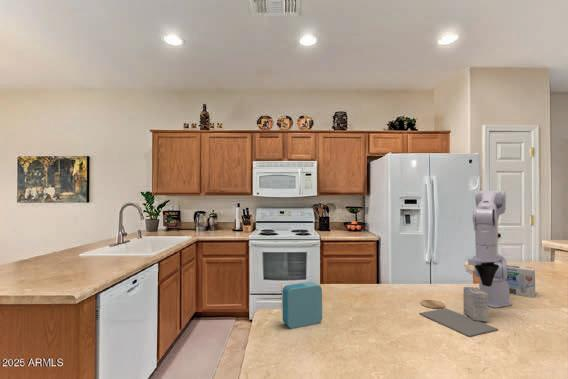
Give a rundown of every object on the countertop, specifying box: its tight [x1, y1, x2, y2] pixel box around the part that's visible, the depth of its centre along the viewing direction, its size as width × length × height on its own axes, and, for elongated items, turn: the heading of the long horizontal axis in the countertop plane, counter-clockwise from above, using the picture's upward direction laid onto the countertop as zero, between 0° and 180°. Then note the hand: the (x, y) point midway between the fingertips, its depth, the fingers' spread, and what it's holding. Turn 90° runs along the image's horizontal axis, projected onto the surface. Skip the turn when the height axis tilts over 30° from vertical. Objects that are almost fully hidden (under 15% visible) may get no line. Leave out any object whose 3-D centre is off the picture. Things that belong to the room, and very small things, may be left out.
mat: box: [418, 307, 499, 338], centre depth 93 cm, size 12×18×1 cm, turn 21°
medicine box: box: [462, 286, 489, 323], centre depth 97 cm, size 8×4×9 cm, turn 168°
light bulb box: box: [505, 264, 536, 299], centre depth 121 cm, size 11×7×11 cm, turn 49°
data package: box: [281, 281, 323, 329], centre depth 93 cm, size 12×4×12 cm, turn 114°
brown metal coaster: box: [420, 299, 446, 310], centre depth 108 cm, size 8×8×1 cm
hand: (486, 285), depth 99 cm, fingers closed
